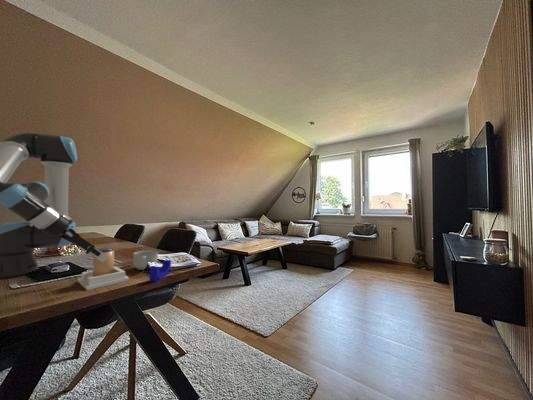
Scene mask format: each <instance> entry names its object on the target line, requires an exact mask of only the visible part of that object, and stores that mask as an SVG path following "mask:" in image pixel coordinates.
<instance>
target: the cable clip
mask: <svg viewBox="0 0 533 400" xmlns="http://www.w3.org/2000/svg"><path fill="white" fill-rule="evenodd" d="M169 272H171V273H172V261H171V259H164V260H162V266H156V265H155V266H152V267H150V269H149V282H150V283H151V282H153V283H157V282H159V281H160V280H162V279H164V278H165V277H167V276H168V275H169V274H168V273H169ZM167 274H168V275H167ZM166 275H167V276H166Z"/></svg>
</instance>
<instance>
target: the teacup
mask: <svg viewBox="0 0 533 400" xmlns="http://www.w3.org/2000/svg"><path fill="white" fill-rule="evenodd" d="M158 254H159V252H158V251H157V250H155V251H154V250H140V251H135V252H133V257H132V258H133V259H132V260H133V261H132V264H133V267H134V268H136V269H137V270H139V271H145V270H144V269H145V268H146V266H147V263H148V262H151V263H152V262H157V263H158V256H159V255H158Z"/></svg>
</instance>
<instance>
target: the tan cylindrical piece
mask: <svg viewBox="0 0 533 400" xmlns="http://www.w3.org/2000/svg"><path fill="white" fill-rule="evenodd" d="M97 249H99V250H100V251H101V252H103V253H104V254H106V255H107V256H108V258H107V259H106V260H105V261H104V262H101V261H100V260H98V259H97V258H95V257H94V256H93V257H92V259H93V260H92V271H93V277H96V276H101V275H106V274H111V273H114V267H115V247H112V246H111V247H99V248H98V247H97Z"/></svg>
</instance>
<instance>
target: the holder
mask: <svg viewBox="0 0 533 400" xmlns="http://www.w3.org/2000/svg"><path fill="white" fill-rule="evenodd" d="M126 273H127V272H126V271H125V270H123V269H121V268H119V267H118V266H115V265H114V273H111V274H106V275H101V276H96V277H93V270H89V271H83V272H81V277H79V278H77V282H78V284H79V285H80V286H82V287H83V288H84V289H85V290H86V291H89V290H90V291H91V290H93V289H98V288H103V287H107V286H111V285H112V286H113V285H115V284H120V283H124V282H128V281H129V280H130V277H129V276H128V275H126Z"/></svg>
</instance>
